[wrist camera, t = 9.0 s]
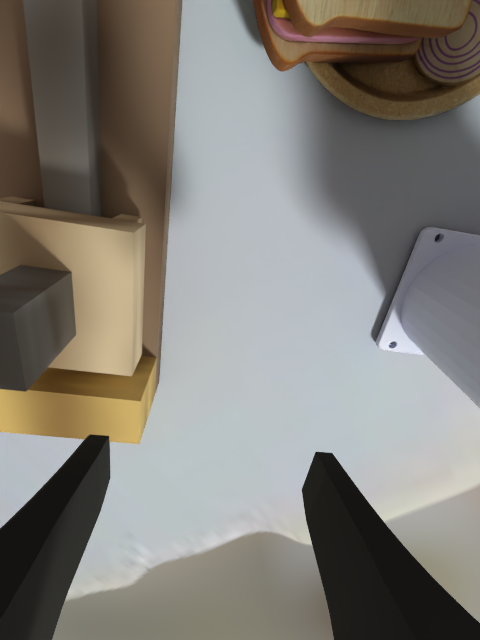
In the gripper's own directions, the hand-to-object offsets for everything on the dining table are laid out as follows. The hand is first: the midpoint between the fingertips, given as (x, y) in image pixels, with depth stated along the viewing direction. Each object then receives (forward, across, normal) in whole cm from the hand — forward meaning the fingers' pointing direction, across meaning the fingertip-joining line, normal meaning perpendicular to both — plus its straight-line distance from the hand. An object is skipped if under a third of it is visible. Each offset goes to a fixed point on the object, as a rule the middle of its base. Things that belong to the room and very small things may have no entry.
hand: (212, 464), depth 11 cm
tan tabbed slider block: (+9, +8, -3) cm, 12 cm away
